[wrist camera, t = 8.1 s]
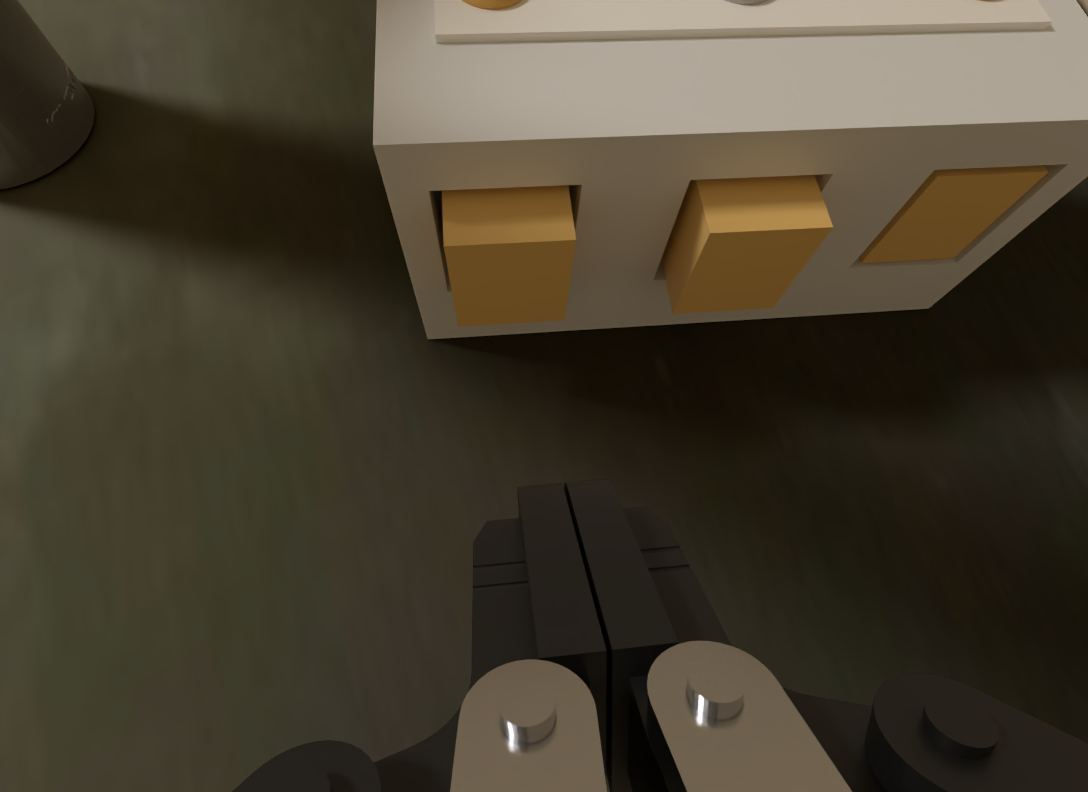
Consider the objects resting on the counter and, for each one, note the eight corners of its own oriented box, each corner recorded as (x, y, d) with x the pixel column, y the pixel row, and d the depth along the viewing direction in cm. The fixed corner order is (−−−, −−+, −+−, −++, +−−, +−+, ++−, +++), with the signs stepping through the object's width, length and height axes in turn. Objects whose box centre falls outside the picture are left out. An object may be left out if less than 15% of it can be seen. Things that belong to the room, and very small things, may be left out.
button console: (427, 339, 29) (369, 131, 17) (424, 168, 33) (376, -88, 22) (928, 308, 31) (1173, 104, 19) (863, 151, 35) (1031, -91, 24)
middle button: (672, 313, 25) (709, 233, 20) (660, 255, 26) (692, 166, 21) (773, 307, 25) (833, 227, 20) (756, 250, 26) (809, 161, 21)
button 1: (457, 326, 24) (443, 246, 19) (455, 266, 25) (441, 176, 20) (564, 320, 24) (576, 239, 20) (557, 261, 26) (566, 171, 21)
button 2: (861, 263, 26) (937, 176, 21) (841, 210, 27) (909, 117, 23) (953, 258, 27) (1048, 172, 22) (929, 206, 28) (1015, 113, 23)
